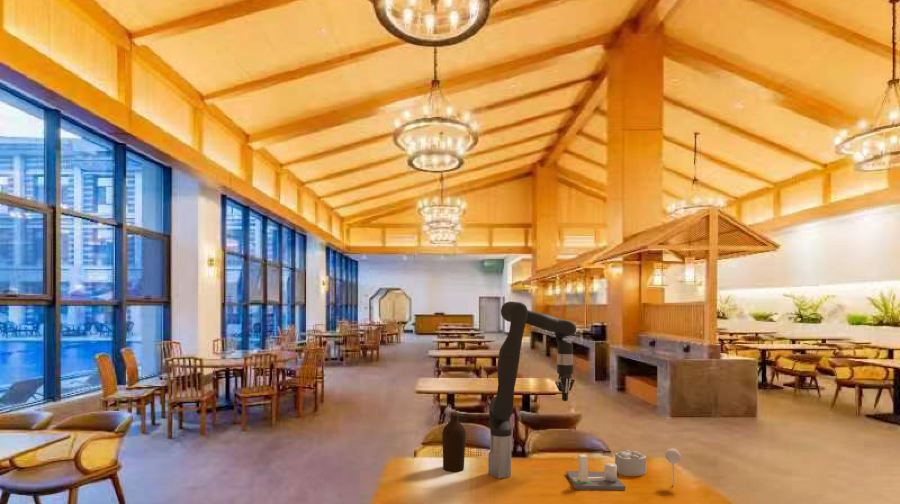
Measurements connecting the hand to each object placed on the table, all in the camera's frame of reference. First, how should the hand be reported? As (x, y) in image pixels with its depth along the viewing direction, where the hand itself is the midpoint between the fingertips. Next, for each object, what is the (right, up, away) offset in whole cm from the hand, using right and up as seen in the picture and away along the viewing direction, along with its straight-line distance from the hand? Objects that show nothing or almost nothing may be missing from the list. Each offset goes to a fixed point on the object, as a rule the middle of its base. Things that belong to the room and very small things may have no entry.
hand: (565, 400), depth 251 cm
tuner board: (+7, -27, -25) cm, 38 cm away
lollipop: (+39, -28, -28) cm, 56 cm away
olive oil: (-52, -28, -11) cm, 60 cm away
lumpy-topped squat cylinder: (+27, -29, -11) cm, 41 cm away
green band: (+1, -25, -29) cm, 39 cm away
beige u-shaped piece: (+6, -25, -29) cm, 39 cm away
